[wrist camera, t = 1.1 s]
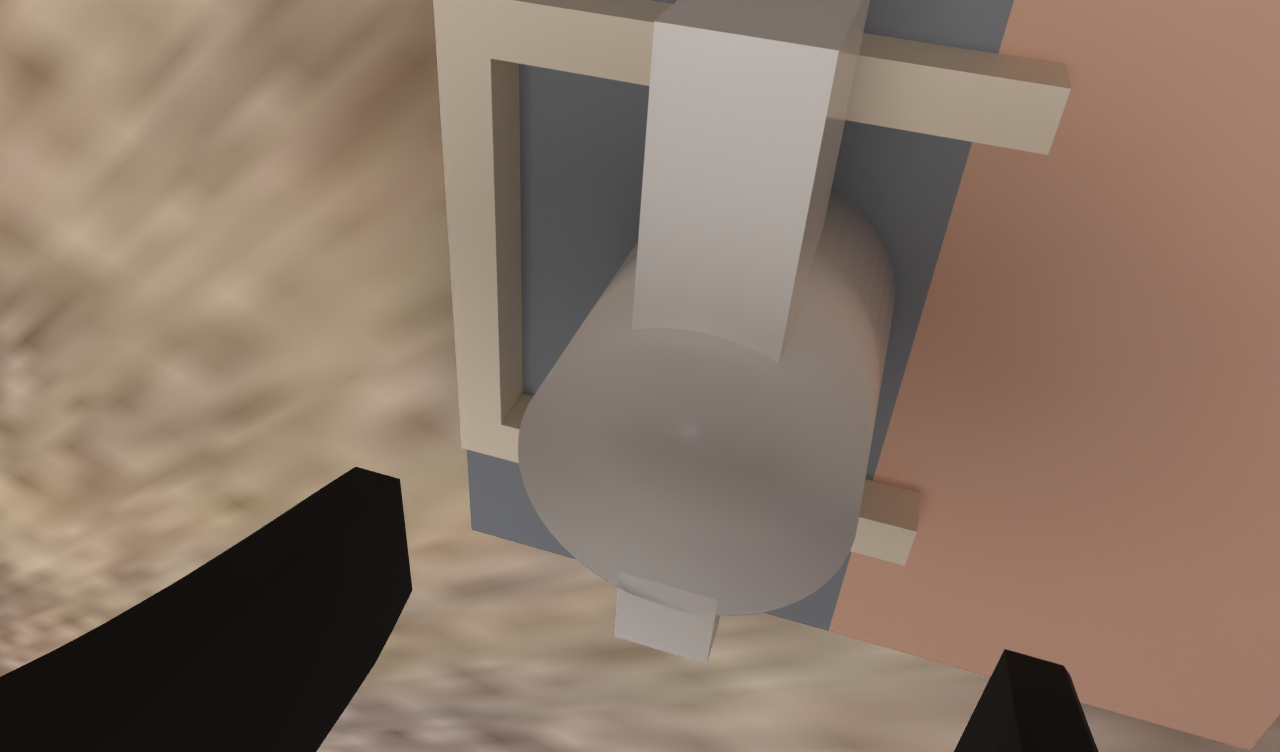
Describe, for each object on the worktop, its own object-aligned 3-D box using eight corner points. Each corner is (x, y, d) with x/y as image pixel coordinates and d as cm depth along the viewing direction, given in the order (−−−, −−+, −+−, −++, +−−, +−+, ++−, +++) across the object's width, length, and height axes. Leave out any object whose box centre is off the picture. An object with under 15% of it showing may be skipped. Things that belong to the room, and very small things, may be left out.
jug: (852, 460, 20) (809, 695, 15) (627, 405, 21) (520, 608, 16) (989, -41, 14) (987, 86, 9) (664, -85, 15) (511, 9, 10)
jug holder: (1240, 713, 22) (1261, 799, 20) (487, 504, 25) (451, 561, 24) (1935, -187, 11) (2113, -169, 9) (452, -317, 15) (380, -319, 13)
